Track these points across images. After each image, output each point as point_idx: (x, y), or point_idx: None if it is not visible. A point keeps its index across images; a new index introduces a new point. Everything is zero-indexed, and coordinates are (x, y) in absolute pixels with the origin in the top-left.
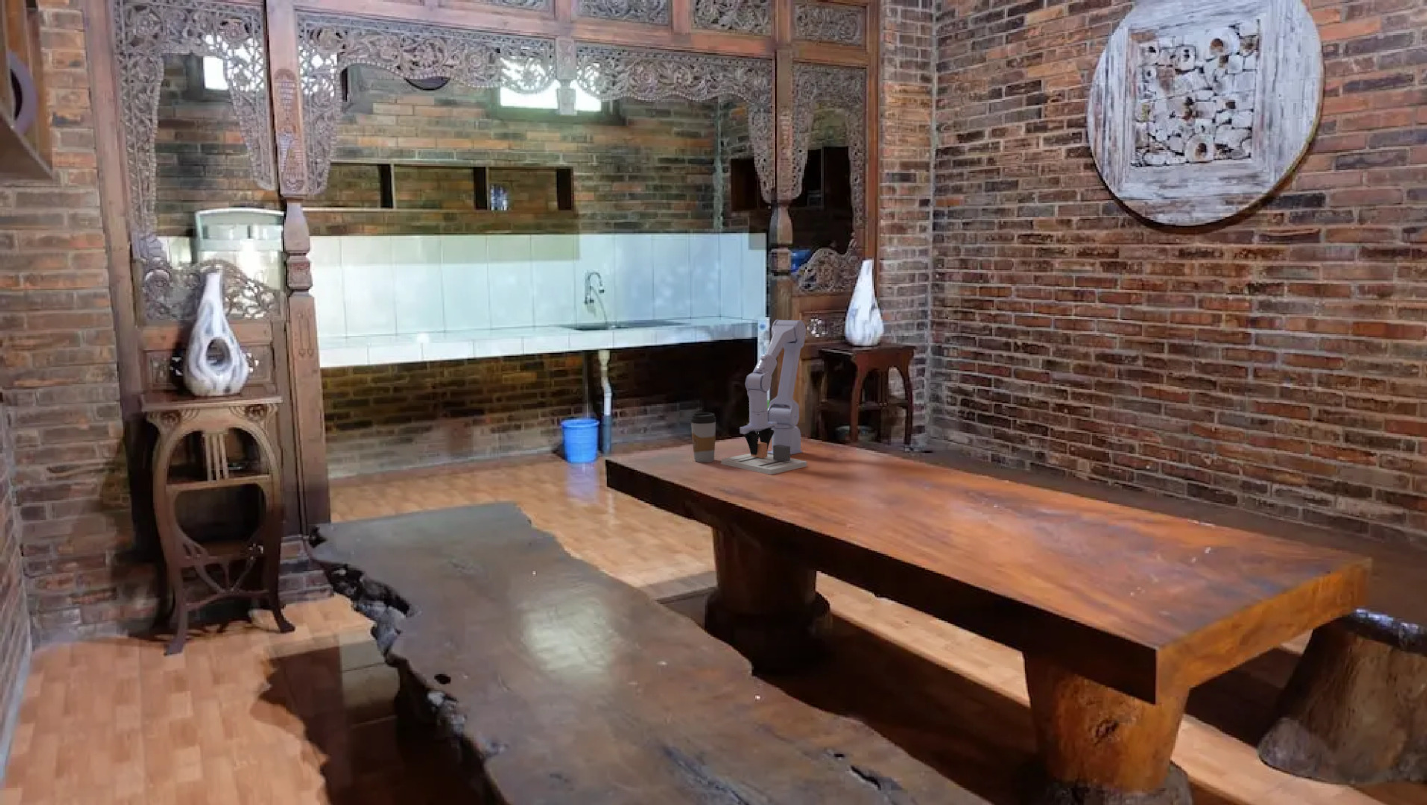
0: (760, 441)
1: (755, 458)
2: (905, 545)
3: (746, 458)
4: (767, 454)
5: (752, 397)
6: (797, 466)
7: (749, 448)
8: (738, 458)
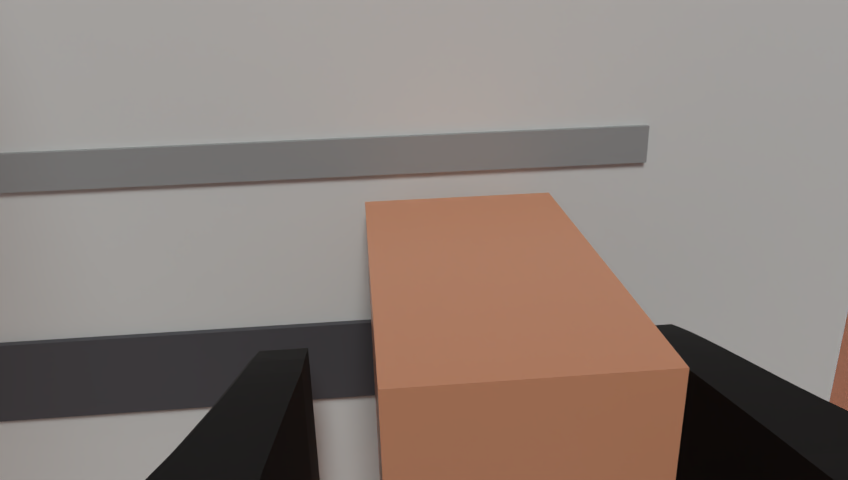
0: (782, 463)
1: (320, 387)
2: None
3: (184, 237)
4: (815, 236)
5: None
6: None
7: (204, 416)
8: (22, 99)
